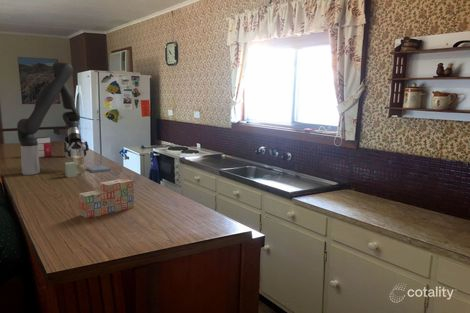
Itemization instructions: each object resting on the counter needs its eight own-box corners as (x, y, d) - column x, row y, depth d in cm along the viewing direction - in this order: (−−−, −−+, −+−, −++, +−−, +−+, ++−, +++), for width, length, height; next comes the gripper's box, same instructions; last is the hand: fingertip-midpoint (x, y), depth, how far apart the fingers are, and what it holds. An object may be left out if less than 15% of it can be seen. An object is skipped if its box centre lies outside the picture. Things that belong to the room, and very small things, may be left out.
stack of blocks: (86, 219, 150) (85, 188, 148) (79, 215, 154) (78, 186, 152) (134, 207, 165) (133, 180, 163) (126, 204, 169) (125, 177, 167)
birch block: (76, 173, 231) (75, 157, 230) (73, 172, 235) (72, 156, 234) (84, 172, 234) (83, 156, 233) (82, 171, 238) (81, 155, 237)
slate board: (93, 172, 234) (93, 170, 234) (86, 169, 244) (86, 167, 244) (110, 170, 241) (110, 168, 241) (103, 167, 251) (103, 165, 251)
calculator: (37, 158, 283) (36, 138, 281) (35, 157, 286) (33, 137, 284) (52, 156, 292) (50, 137, 290) (49, 155, 295) (48, 136, 292)
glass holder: (65, 156, 294) (63, 136, 292) (84, 155, 300) (83, 136, 297) (65, 157, 286) (64, 138, 284) (85, 156, 292) (84, 137, 290)
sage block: (68, 177, 221) (67, 164, 220) (65, 176, 225) (64, 162, 223) (76, 176, 224) (76, 163, 223) (74, 175, 228) (73, 161, 227)
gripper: (62, 132, 239) (65, 153, 231) (86, 131, 246) (90, 151, 238) (62, 140, 244) (65, 160, 236) (85, 138, 251) (89, 158, 243)
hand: (77, 155), depth 237 cm, fingers open, 8 cm apart
